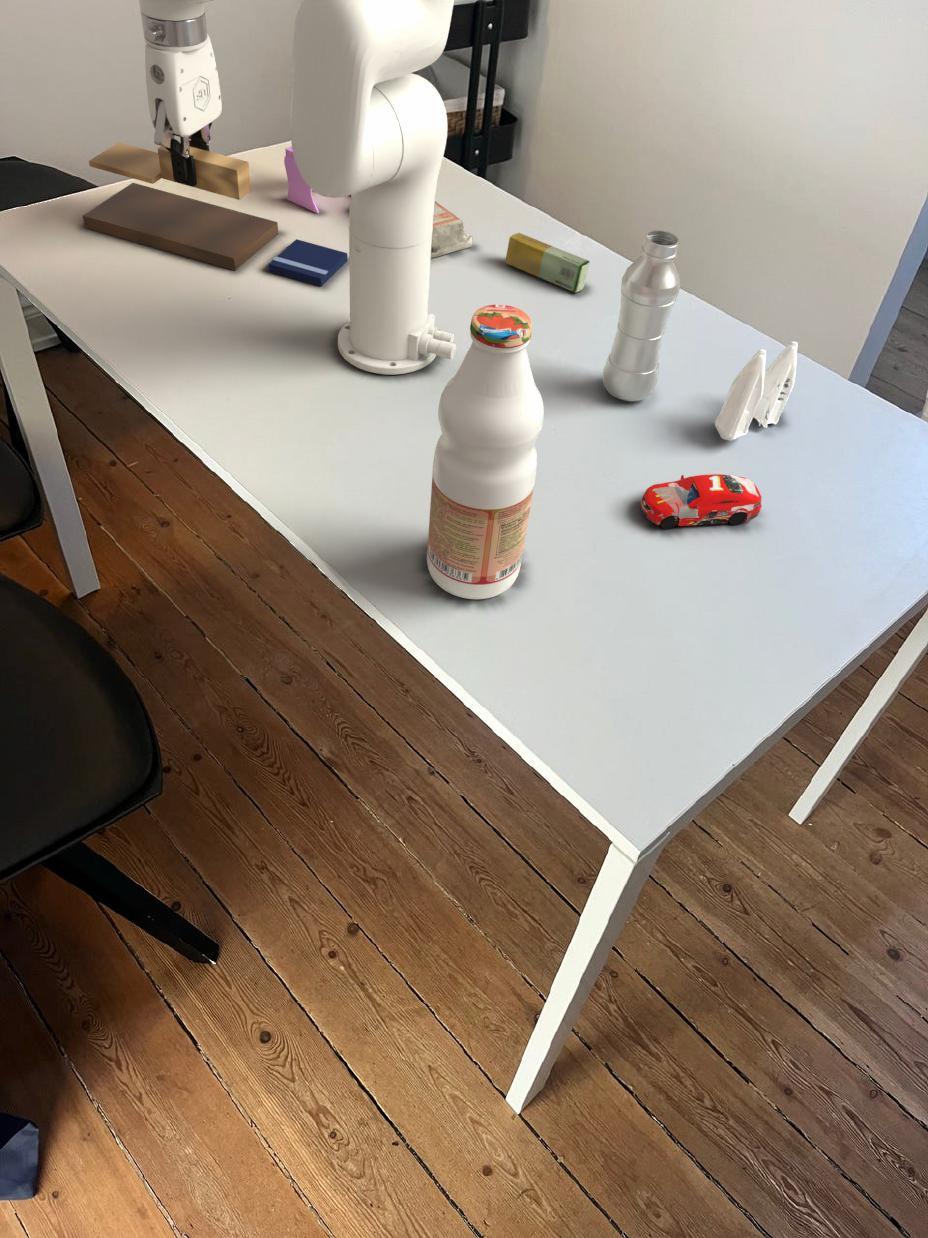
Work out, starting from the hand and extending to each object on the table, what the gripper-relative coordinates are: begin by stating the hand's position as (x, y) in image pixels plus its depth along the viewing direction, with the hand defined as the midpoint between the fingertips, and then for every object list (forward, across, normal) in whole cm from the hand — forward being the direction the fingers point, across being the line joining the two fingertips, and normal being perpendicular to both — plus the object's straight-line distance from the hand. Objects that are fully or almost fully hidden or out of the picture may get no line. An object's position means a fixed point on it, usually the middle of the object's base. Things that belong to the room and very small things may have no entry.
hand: (193, 176), depth 133 cm
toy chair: (+9, +19, -9) cm, 23 cm away
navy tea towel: (+8, 0, -17) cm, 19 cm away
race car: (+8, -26, -78) cm, 83 cm away
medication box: (+8, +14, -47) cm, 50 cm away
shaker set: (+8, -8, -80) cm, 81 cm away
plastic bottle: (+8, -8, -65) cm, 66 cm away
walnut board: (+8, 0, +3) cm, 9 cm away
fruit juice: (+8, -45, -59) cm, 75 cm away
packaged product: (+8, +17, -25) cm, 31 cm away
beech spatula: (+1, 0, +3) cm, 3 cm away
